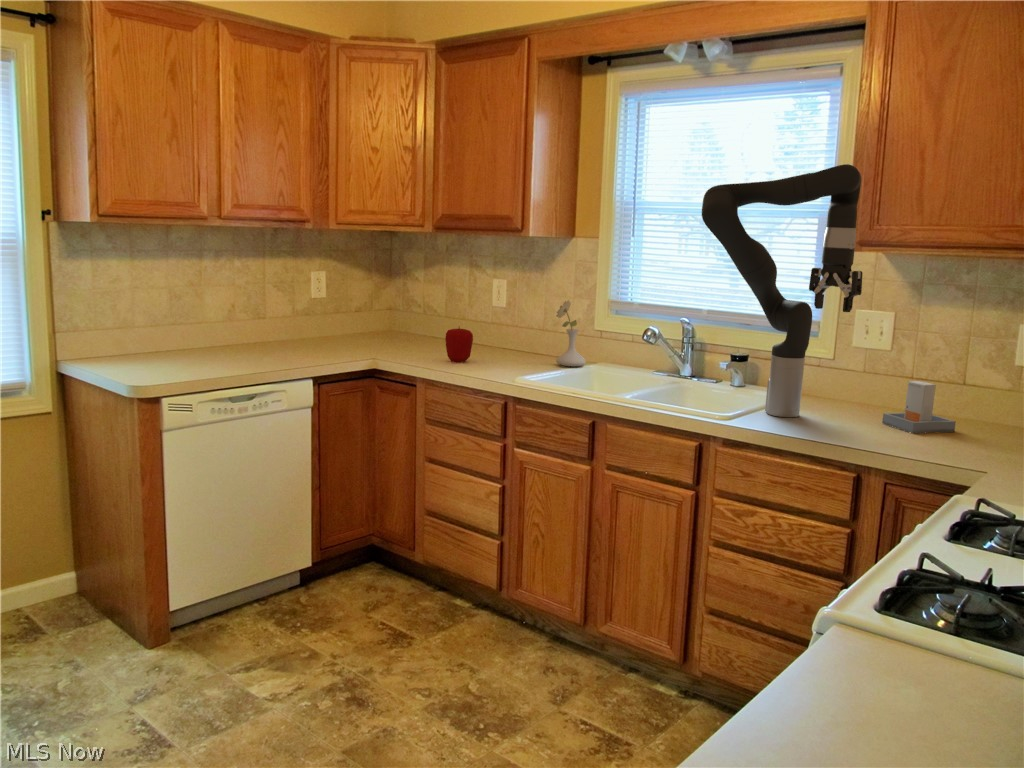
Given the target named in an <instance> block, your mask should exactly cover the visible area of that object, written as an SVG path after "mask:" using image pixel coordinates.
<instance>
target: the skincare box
mask: <svg viewBox="0 0 1024 768" xmlns="http://www.w3.org/2000/svg"><path fill="white" fill-rule="evenodd" d="M907 383H908V384H907V390H906V397H905V398H906V399H905V408H904V412H903V413H904V419H906V420H910V421H913V422H925V421H931V419H932V415H933V412H934V411H933V410H934V403H935V394H936V393H935V392H936V386H937V385H936V384H935V383H930V382H925V381H920V380H909V381H908V382H907Z"/></svg>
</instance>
